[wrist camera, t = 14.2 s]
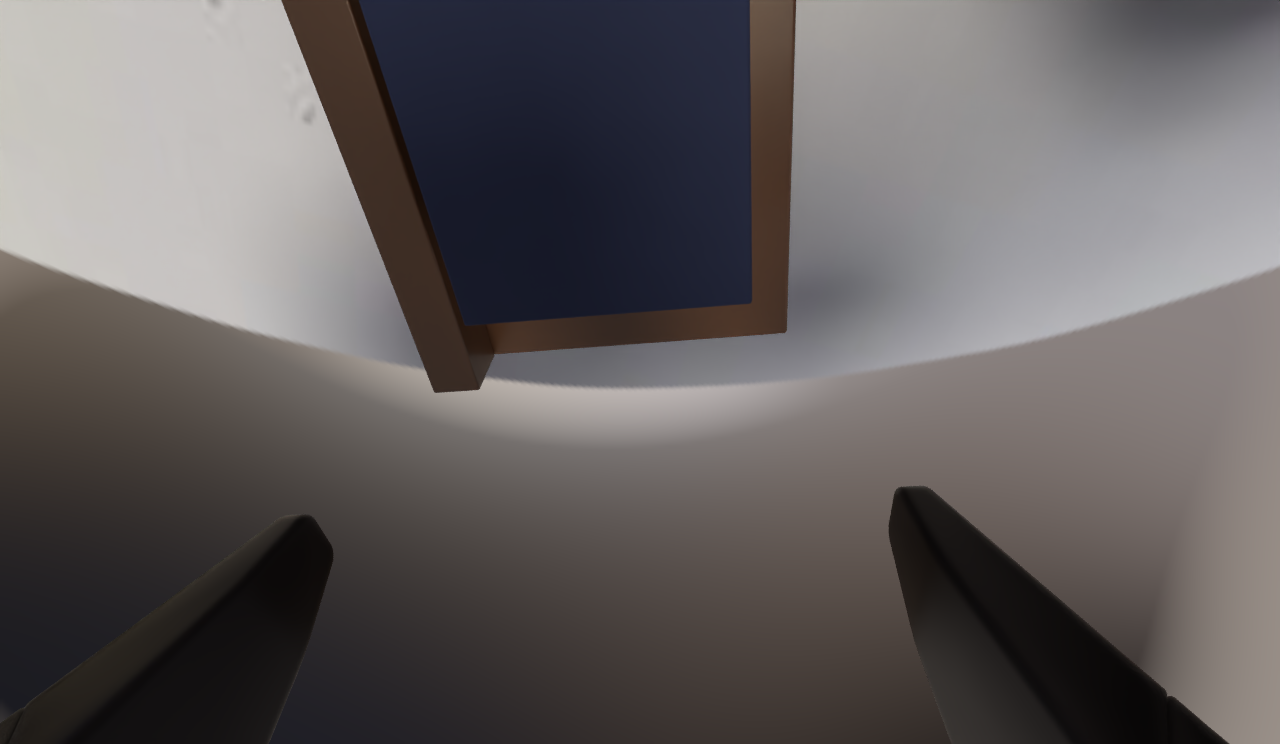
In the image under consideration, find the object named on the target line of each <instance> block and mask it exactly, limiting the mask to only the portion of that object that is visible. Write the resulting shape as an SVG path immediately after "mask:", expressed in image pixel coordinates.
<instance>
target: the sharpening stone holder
mask: <svg viewBox="0 0 1280 744" xmlns="http://www.w3.org/2000/svg"><path fill="white" fill-rule="evenodd" d="M282 3H283V6H284V8H285V11H286V13H287V16H288V18H289V21H290V24H291V26H292V29H293V31H294V34H295V36H296V39H297V42H298V44H299V47H300V49H301V52H302V54H303V57H304V59H305V62H306V65H307V67H308V70H309V72H310V75H311V77H312V80H313V83H314V85H315V88H316V90H317V93H318V95H319V98H320V101H321V103H322V106H323V108H324V111H325V113H326V116H327V118H328V121H329V124H330V126H331V129H332V131H333V134H334V136H335V139H336V142H337V144H338V147H339V149H340V152H341V154H342V157H343V160H344V162H345V165H346V167H347V170H348V172H349V175H350V177H351V180H352V183H353V185H354V188H355V190H356V193H357V195H358V198H359V201H360V203H361V206H362V208H363V211H364V213H365V216H366V218H367V221H368V224H369V226H370V229H371V231H372V234H373V236H374V239H375V242H376V244H377V247H378V249H379V252H380V254H381V257H382V260H383V262H384V265H385V267H386V270H387V272H388V275H389V277H390V280H391V283H392V285H393V288H394V290H395V293H396V295H397V298H398V301H399V303H400V306H401V308H402V311H403V313H404V316H405V319H406V321H407V324H408V326H409V329H410V331H411V334H412V336H413V339H414V342H415V344H416V347H417V349H418V352H419V354H420V357H421V360H422V362H423V365H424V367H425V370H426V372H427V375H428V378H429V380H430V382H431V385H432V388H433V390H434V392H435V393H439V392H454V391H469V390H479V389H480V387H481V384H482V382H483V380H484V378H485V376H486V373H487V371H488V369H489V367H490V364H491V362H492V360H493V358H494V354H505V353H519V352H532V351H546V350H559V349H573V348H587V347H600V346H614V345H627V344H641V343H655V342H668V341H682V340H695V339H709V338H723V337H736V336H750V335H763V334H777V333H785V332H786V331H787V309H788V273H789V237H790V202H791V166H792V130H793V94H794V59H795V23H796V0H750V84H751V202H752V302H751V303H750V304H741V305H728V306H715V307H702V308H689V309H677V310H664V311H651V312H638V313H625V314H612V315H600V316H587V317H574V318H561V319H548V320H535V321H523V322H510V323H497V324H484V325H471V326H466V325H465V324H464V322H463V319H462V316H461V313H460V309H459V306H458V303H457V300H456V297H455V294H454V291H453V288H452V285H451V282H450V279H449V276H448V273H447V270H446V267H445V263H444V260H443V257H442V254H441V251H440V248H439V245H438V242H437V239H436V236H435V233H434V230H433V227H432V224H431V221H430V217H429V214H428V211H427V208H426V205H425V202H424V199H423V196H422V193H421V190H420V187H419V184H418V181H417V178H416V175H415V171H414V168H413V165H412V162H411V159H410V156H409V153H408V150H407V147H406V144H405V141H404V138H403V135H402V132H401V129H400V125H399V122H398V119H397V116H396V113H395V110H394V107H393V104H392V101H391V98H390V95H389V92H388V89H387V86H386V83H385V79H384V76H383V73H382V70H381V67H380V64H379V61H378V58H377V55H376V52H375V49H374V46H373V43H372V40H371V37H370V33H369V30H368V27H367V24H366V21H365V18H364V15H363V12H362V9H361V6H360V3H359V0H282Z"/></svg>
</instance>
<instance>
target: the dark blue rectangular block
mask: <svg viewBox="0 0 1280 744" xmlns="http://www.w3.org/2000/svg"><path fill="white" fill-rule="evenodd" d="M359 3H360V6H361V9H362V12H363V15H364V18H365V21H366V24H367V27H368V30H369V33H370V37H371V40H372V43H373V46H374V49H375V52H376V55H377V58H378V61H379V64H380V67H381V70H382V73H383V76H384V79H385V83H386V86H387V89H388V92H389V95H390V98H391V101H392V104H393V107H394V110H395V113H396V116H397V119H398V122H399V125H400V129H401V132H402V135H403V138H404V141H405V144H406V147H407V150H408V153H409V156H410V159H411V162H412V165H413V168H414V171H415V175H416V178H417V181H418V184H419V187H420V190H421V193H422V196H423V199H424V202H425V205H426V208H427V211H428V214H429V217H430V221H431V224H432V227H433V230H434V233H435V236H436V239H437V242H438V245H439V248H440V251H441V254H442V257H443V260H444V263H445V267H446V270H447V273H448V276H449V279H450V282H451V285H452V288H453V291H454V294H455V297H456V300H457V303H458V306H459V309H460V313H461V316H462V319H463V322H464V324H465V325H466V326H471V325H484V324H497V323H510V322H523V321H535V320H548V319H561V318H574V317H587V316H600V315H612V314H625V313H638V312H651V311H664V310H677V309H689V308H702V307H715V306H728V305H741V304H750V303H751V302H752V202H751V84H750V0H359Z"/></svg>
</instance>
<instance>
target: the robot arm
mask: <svg viewBox="0 0 1280 744" xmlns="http://www.w3.org/2000/svg"><path fill="white" fill-rule="evenodd" d="M889 538H890V543H891V547H892V551H893V555H894V559H895V564H896V568H897V572H898V576H899V580H900V584H901V588H902V593H903V597H904V601H905V605H906V608H907V613H908V617H909V621H910V625H911V629H912V633H913V637H914V641H915V644H916V647H917V650H918V653H919V656H920V659H921V661H922V664H923V667H924V670H925V673H926V675H927V678H928V680H929V683H930V686H931V689H932V692H933V694H934V697H935V700H936V703H937V705H938V708H939V711H940V714H941V716H942V719H943V721H944V724H945V727H946V730H947V733H948V735H949V738H950V741H951V744H1229V743H1228V742H1226V741H1225V740H1224V739H1223V738H1222V737H1221V736H1219V735H1218V734H1217V733H1216V732H1215V731H1213V730H1212V729H1211V728H1210V727H1208V726H1207V725H1206V724H1205V723H1204V722H1203V721H1201V720H1200V719H1199V718H1198V717H1197V716H1196V715H1194V714H1193V713H1192V712H1191V711H1190V710H1188V709H1187V708H1186V707H1185V706H1184V705H1183V704H1182V703H1180V702H1179V701H1178V700H1177V699H1176V698H1174V697H1172V696H1168V697H1167V693H1166V690H1165V689H1164V688H1163V687H1161V686H1160V685H1159V684H1158V683H1157V682H1156V681H1154V680H1153V679H1152V678H1151V677H1150V676H1149V675H1147V674H1146V673H1145V672H1144V671H1143V670H1142V669H1140V668H1139V667H1138V666H1137V665H1136V664H1135V663H1133V662H1132V661H1131V660H1130V659H1129V658H1128V657H1126V656H1125V655H1124V654H1123V653H1122V652H1120V651H1119V650H1118V649H1117V648H1116V647H1115V646H1114V645H1112V644H1111V643H1110V642H1109V641H1108V640H1106V639H1105V638H1104V637H1103V636H1102V635H1101V634H1099V633H1098V632H1097V631H1096V630H1095V629H1094V628H1093V627H1091V626H1090V625H1089V624H1088V623H1087V622H1085V621H1084V620H1083V619H1082V618H1081V617H1080V616H1079V615H1077V614H1076V613H1075V612H1074V611H1073V610H1071V609H1070V608H1069V607H1068V606H1067V605H1066V604H1065V603H1063V602H1062V601H1061V600H1060V599H1059V598H1058V597H1056V596H1055V595H1054V594H1053V593H1052V592H1051V591H1049V590H1048V589H1047V588H1046V587H1045V586H1044V585H1042V584H1041V583H1040V582H1039V581H1038V580H1037V579H1035V578H1034V577H1033V576H1032V575H1031V574H1030V573H1028V572H1027V571H1026V570H1025V569H1024V568H1022V567H1021V566H1020V565H1019V564H1018V563H1017V562H1016V561H1014V560H1013V559H1012V558H1011V557H1010V556H1008V555H1007V554H1006V553H1005V552H1004V551H1003V550H1002V549H1000V548H999V547H998V546H997V545H995V543H993V542H992V541H991V540H990V539H989V538H987V537H986V536H985V535H984V534H983V533H982V532H980V531H979V530H978V529H977V528H976V527H975V526H973V525H972V524H971V523H970V522H969V521H968V520H966V519H965V518H964V517H963V516H962V515H961V514H959V513H958V512H957V511H956V510H955V509H954V508H952V507H951V506H950V505H949V504H948V503H947V502H945V501H944V500H943V499H942V498H941V497H940V496H938V495H937V494H936V493H935V492H934V491H933V490H931V489H930V488H928V487H926V486H907V487H899V488H898V489H896V491H895V494H894V499H893V504H892V510H891V516H890V521H889ZM332 562H333V549H332V546H331V544H330V542H329V541H328V539H327V538H326V536H325V534H324V533H323V531H322V530H321V528H320V527H319V525H318V523H317V522H316V520H315V519H314V518H313V517H312V516H310V515H306V514H304V515H303V514H302V515H287V516H283V517H281V518H279V519H278V520H276V521H275V522H274V523H272V524H271V525H270V526H268V527H267V528H265V529H264V530H263V531H261V532H260V533H259V534H257V535H256V536H255V537H253V538H252V539H251V540H249V541H248V542H246V543H245V544H244V545H243V546H241V547H240V548H238V549H237V550H236V551H235V552H233V553H231V554H230V555H229V556H227V557H226V558H225V559H223V560H222V561H221V562H219V563H218V564H216V565H215V566H214V567H212V568H211V569H210V570H208V571H207V572H206V573H204V574H203V575H201V576H200V577H199V578H198V579H196V580H195V581H193V582H192V583H191V584H189V585H188V586H187V587H185V588H184V589H182V590H181V591H180V592H178V593H177V594H176V595H174V596H173V597H172V598H170V599H169V600H168V601H166V602H165V603H163V604H162V605H161V606H160V607H158V608H157V609H155V610H154V611H153V612H151V613H150V614H148V615H147V616H146V617H145V618H143V619H142V620H140V621H139V622H138V623H136V624H135V625H134V626H132V627H131V628H129V629H128V630H127V631H125V632H124V633H123V634H121V635H120V636H119V637H117V638H116V639H115V640H113V641H112V642H110V643H109V644H108V645H106V646H105V647H104V648H102V649H101V650H99V651H98V652H97V653H95V654H94V655H93V656H91V657H90V658H89V659H87V660H86V661H85V662H83V663H82V664H80V665H79V666H78V667H76V668H75V669H74V670H72V671H71V672H70V673H68V674H67V675H66V676H64V677H63V678H62V679H60V680H59V681H57V682H56V683H55V684H53V685H52V686H51V687H49V688H48V689H46V690H45V691H44V692H42V693H41V694H40V695H38V696H37V697H36V698H34V699H33V700H32V701H30V702H29V703H28V704H27V705H26V707H25V708H21V709H19V710H18V711H16V712H15V713H14V714H13V715H11V716H10V717H8V718H7V719H6V720H4V721H3V722H1V723H0V744H269V741H270V739H271V736H272V734H273V731H274V729H275V727H276V724H277V721H278V719H279V717H280V714H281V712H282V709H283V707H284V704H285V702H286V699H287V697H288V695H289V692H290V690H291V687H292V685H293V682H294V680H295V678H296V675H297V673H298V670H299V667H300V665H301V662H302V660H303V657H304V655H305V651H306V648H307V645H308V642H309V639H310V636H311V633H312V630H313V626H314V623H315V619H316V616H317V613H318V610H319V606H320V603H321V599H322V596H323V593H324V589H325V586H326V582H327V579H328V576H329V573H330V569H331V566H332Z"/></svg>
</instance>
